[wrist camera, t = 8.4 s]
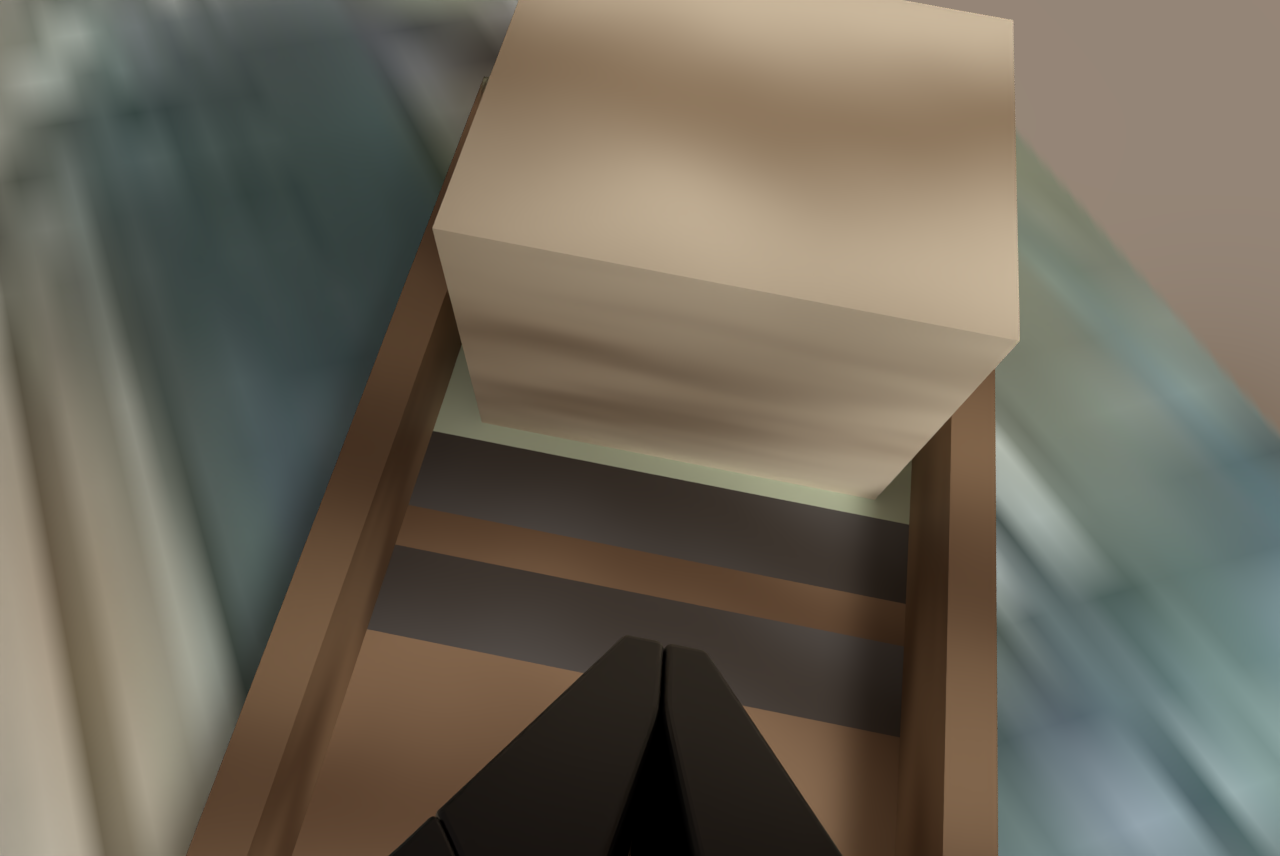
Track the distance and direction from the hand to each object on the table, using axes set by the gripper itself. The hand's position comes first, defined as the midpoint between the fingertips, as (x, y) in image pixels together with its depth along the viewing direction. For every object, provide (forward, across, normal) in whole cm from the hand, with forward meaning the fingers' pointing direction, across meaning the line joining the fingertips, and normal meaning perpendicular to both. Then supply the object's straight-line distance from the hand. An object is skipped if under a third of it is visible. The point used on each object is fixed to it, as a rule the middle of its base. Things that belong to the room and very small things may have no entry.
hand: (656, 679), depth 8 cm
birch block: (+15, 0, -1) cm, 15 cm away
